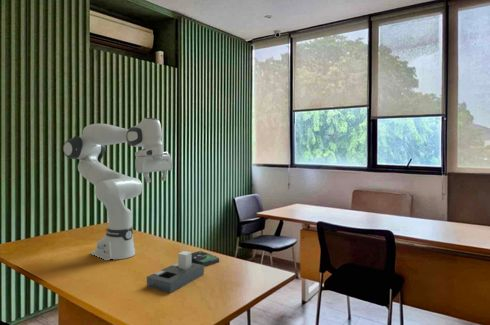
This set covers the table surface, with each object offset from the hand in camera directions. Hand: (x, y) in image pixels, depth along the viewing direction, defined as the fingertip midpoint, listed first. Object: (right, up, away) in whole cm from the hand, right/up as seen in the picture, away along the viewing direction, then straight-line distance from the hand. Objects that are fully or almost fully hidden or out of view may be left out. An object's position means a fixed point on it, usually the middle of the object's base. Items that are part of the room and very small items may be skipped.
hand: (156, 181), depth 160 cm
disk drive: (+20, -40, +7) cm, 45 cm away
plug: (+16, -40, -13) cm, 45 cm away
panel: (+13, -40, -17) cm, 46 cm away
